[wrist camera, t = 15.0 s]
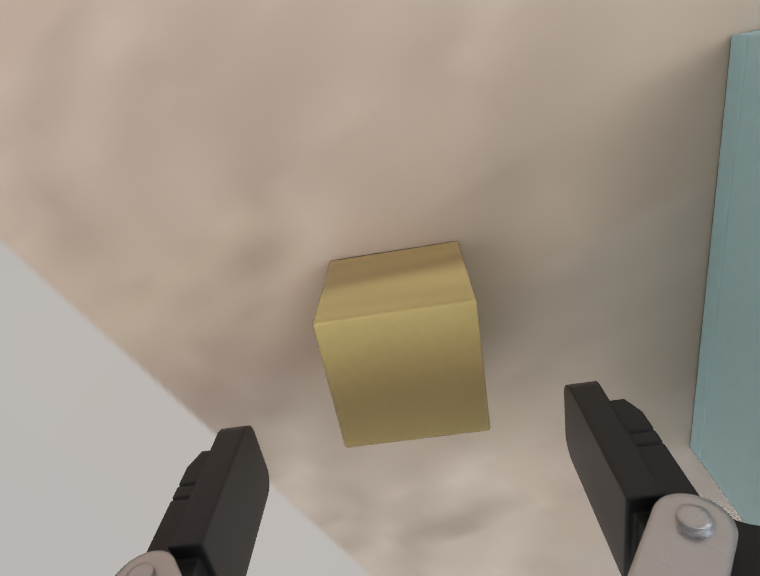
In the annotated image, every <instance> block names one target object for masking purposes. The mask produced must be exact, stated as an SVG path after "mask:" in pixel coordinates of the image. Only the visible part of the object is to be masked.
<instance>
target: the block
mask: <svg viewBox="0 0 760 576" xmlns="http://www.w3.org/2000/svg"><path fill="white" fill-rule="evenodd" d="M313 327H314V331H315V335H316V339H317V342H318V346H319V350H320V354H321V357H322V361H323V365H324V369H325V373H326V376H327V380H328V384H329V388H330V391H331V395H332V399H333V403H334V406H335V410H336V414H337V418H338V421H339V425H340V429H341V433H342V436H343V440H344V444H345V446H346V447H355V446H364V445H372V444H380V443H388V442H397V441H405V440H413V439H421V438H430V437H438V436H446V435H454V434H462V433H471V432H479V431H487V430H490V420H489V411H488V402H487V392H486V383H485V374H484V365H483V356H482V347H481V337H480V328H479V319H478V310H477V301H476V298H475V295H474V292H473V289H472V285H471V282H470V279H469V276H468V273H467V270H466V266H465V263H464V260H463V257H462V254H461V251H460V247H459V244H458V242H450V243H443V244H437V245H430V246H424V247H418V248H411V249H405V250H398V251H392V252H386V253H379V254H373V255H366V256H360V257H354V258H347V259H341V260H334V261H331V262H330V264H329V268H328V271H327V275H326V279H325V282H324V286H323V290H322V293H321V297H320V300H319V304H318V308H317V311H316V315H315V319H314V322H313Z"/></svg>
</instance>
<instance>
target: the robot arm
mask: <svg viewBox="0 0 760 576" xmlns="http://www.w3.org/2000/svg"><path fill="white" fill-rule="evenodd" d="M564 402H565V431H566V441H567V446H568V450H569V453H570V457H571V459H572V462H573V464H574V466H575V469H576V471H577V473H578V476H579V478H580V480H581V483H582V485H583V487H584V490H585V492H586V494H587V497H588V499H589V501H590V504H591V506H592V508H593V511H594V513H595V515H596V517H597V520H598V522H599V524H600V527H601V529H602V531H603V534H604V536H605V538H606V541H607V543H608V545H609V548H610V550H611V552H612V555H613V557H614V559H615V562H616V564H617V566H618V568H619V571H620V573H621V575H622V576H760V526H758V525H752V524H747V523H743V522H740V521H736V520H734V519H732V517H731V516H730V515H729V514H728V513H727V512H726V511H725V510H724V509H723V508H722V507H720V506H719V505H717V504H716V503H714V502H712V501H710V500H708V499H706V498H703V497H700V496H699V495H698V493H697V492H696V490H695V489H694V487H693V486H692V484H691V483H690V481H689V480H688V478H687V477H686V476H685V474H684V473H683V471H682V470H681V468H680V467H679V465H678V464H677V462H676V461H675V459H674V458H673V456H672V455H671V453H670V452H669V450H668V449H667V448H666V446H665V445H664V444H663V443H662V440H661V439H660V437H659V436H658V434H657V433H656V431H654V430H653V427H652V425H651V424H650V422H649V421H648V420H647V418H646V417H645V415H644V414H643V412H642V411H640V410H639V409H638V408H636V407H635V406H633V405H632V404H630V403H629V402H627V401H626V400H625V399H620V400H612V401H609V399H608V397H607V396H606V394H605V392H604V391H603V389H602V387H601V386H600V384H599V383H598V382H597V381H592V382H585V383H577V384H569V385H565V388H564ZM179 485H180V487H178V488H177V490H176V492H175V495H174V496H173V501H171V503H170V505H169V507H168V509H167V511H166V513H165V515H164V518H163V519H162V521H161V523H160V526H159V528H158V530H157V532H156V534H155V536H154V538H153V540H152V542H151V544H150V547H149V549H148V551H147V553H144V554H142V555H140V556H138V557H136V558H134V559H133V560H131V561H130V562H128V563H127V564H126V565H125V566H124V567H123V568H122V569H121V570H120V571H119V572H118V573H117V574H116V575H115V576H246V574H247V570H248V566H249V563H250V559H251V555H252V552H253V548H254V544H255V541H256V537H257V533H258V530H259V526H260V522H261V519H262V515H263V511H264V508H265V504H266V500H267V497H268V492H269V474H268V469H267V466H266V463H265V461H264V458H263V455H262V452H261V449H260V446H259V444H258V441H257V438H256V435H255V432H254V430H253V428H252V427H251V426H241V427H233V428H226V429H221V430H220V431H219V432H218V434H217V437H216V439H215V441H214V443H213V446H212V448H211V450H210V451H203V452H201V453H200V454H199V455H198V457H197V458H196V459H195V460H194V461H193V462H192V463H191V464H190V465H189V466H188V467H187V469H186V472H185V474H184V476H183V478H182V480H181V482H180V484H179Z"/></svg>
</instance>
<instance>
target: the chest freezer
mask: <svg viewBox="0 0 760 576" xmlns="http://www.w3.org/2000/svg"><path fill="white" fill-rule="evenodd" d="M690 448H691V449H692V451H693V452H694V453H695V455H696V456H697V457H698V459H699V460H700V461H701V463H702V464H703V466H704V467H705V468H706V470H707V471H708V473H709V474H710V475H711V477H712V478H713V479H714V481H715V482H716V484H717V485H718V486H719V488H720V489H721V491H722V492H723V493H724V495H725V496H726V497H727V499H728V500H729V502H730V503H731V504H732V506H733V507H734V509H735V510H736V511H737V513H738V514H739V515H740V517H741V518H742V520H743V521H744V522H745V523H747V524H752V525H758V526H760V30H755V31H750V32H745V33H739V34H734V35H733V36H732V38H731V48H730V58H729V68H728V78H727V87H726V97H725V107H724V117H723V127H722V137H721V147H720V157H719V166H718V176H717V186H716V196H715V206H714V216H713V226H712V235H711V245H710V255H709V265H708V275H707V285H706V295H705V305H704V314H703V324H702V334H701V344H700V354H699V364H698V374H697V383H696V393H695V403H694V413H693V423H692V433H691V443H690Z"/></svg>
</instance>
